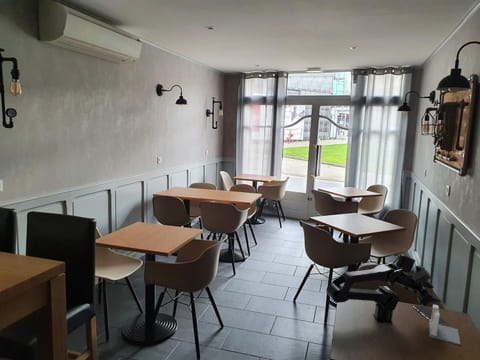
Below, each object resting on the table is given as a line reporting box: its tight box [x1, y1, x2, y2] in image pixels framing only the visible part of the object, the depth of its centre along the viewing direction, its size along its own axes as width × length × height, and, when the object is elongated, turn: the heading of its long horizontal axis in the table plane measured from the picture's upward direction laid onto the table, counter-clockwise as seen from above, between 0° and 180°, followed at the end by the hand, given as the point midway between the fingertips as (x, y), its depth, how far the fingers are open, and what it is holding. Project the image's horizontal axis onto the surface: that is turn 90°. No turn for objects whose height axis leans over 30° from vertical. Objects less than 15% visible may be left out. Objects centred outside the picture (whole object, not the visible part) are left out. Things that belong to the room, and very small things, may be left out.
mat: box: [428, 321, 461, 346], centre depth 149 cm, size 11×12×1 cm
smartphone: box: [412, 304, 449, 326], centre depth 164 cm, size 7×1×16 cm
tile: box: [429, 303, 441, 336], centre depth 150 cm, size 2×10×9 cm, turn 153°
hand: (436, 294), depth 157 cm, fingers open, 9 cm apart
